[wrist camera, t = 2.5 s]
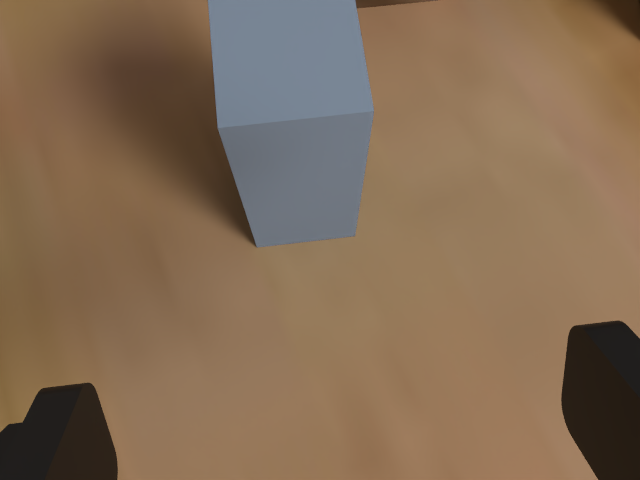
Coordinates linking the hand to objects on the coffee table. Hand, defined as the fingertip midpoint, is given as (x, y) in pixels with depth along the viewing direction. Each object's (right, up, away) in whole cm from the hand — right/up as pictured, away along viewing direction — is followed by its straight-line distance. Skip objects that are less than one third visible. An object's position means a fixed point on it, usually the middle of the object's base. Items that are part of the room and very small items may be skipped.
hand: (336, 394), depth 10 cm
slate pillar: (-1, +5, +18) cm, 19 cm away
